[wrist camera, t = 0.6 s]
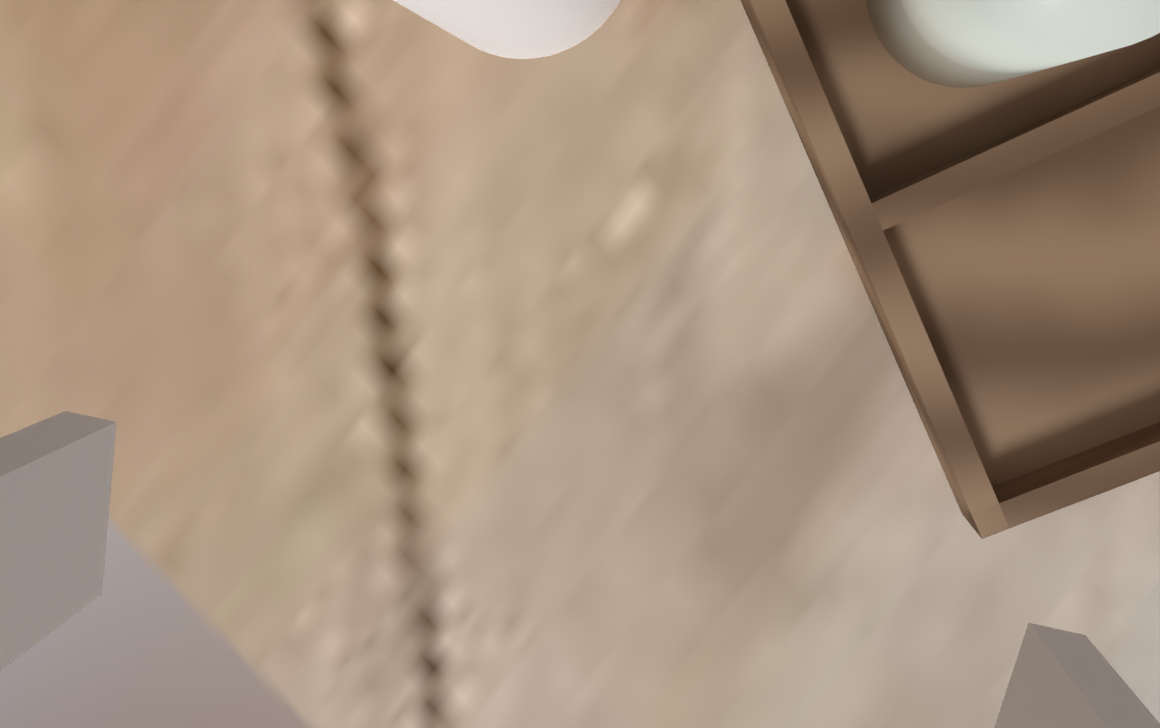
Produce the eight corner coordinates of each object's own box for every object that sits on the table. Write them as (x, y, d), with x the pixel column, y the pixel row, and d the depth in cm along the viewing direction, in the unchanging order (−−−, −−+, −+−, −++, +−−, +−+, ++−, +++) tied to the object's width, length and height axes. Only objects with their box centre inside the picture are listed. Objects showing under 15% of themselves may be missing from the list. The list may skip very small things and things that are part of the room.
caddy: (701, -90, 33) (702, -111, 31) (1103, -304, 31) (1139, -345, 28) (962, 514, 37) (982, 539, 34) (1346, 365, 34) (1397, 380, 32)
